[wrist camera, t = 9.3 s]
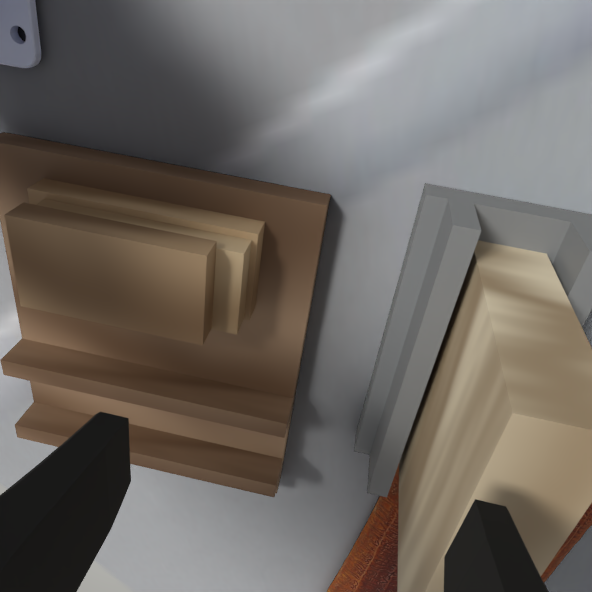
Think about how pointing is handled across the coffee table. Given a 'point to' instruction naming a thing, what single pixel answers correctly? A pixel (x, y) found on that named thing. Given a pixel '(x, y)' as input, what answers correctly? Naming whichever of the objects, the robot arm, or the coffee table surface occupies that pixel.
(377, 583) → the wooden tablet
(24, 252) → the offcut stack
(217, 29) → the coffee table surface
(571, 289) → the grey channel block
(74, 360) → the walnut rack
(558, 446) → the birch panel
